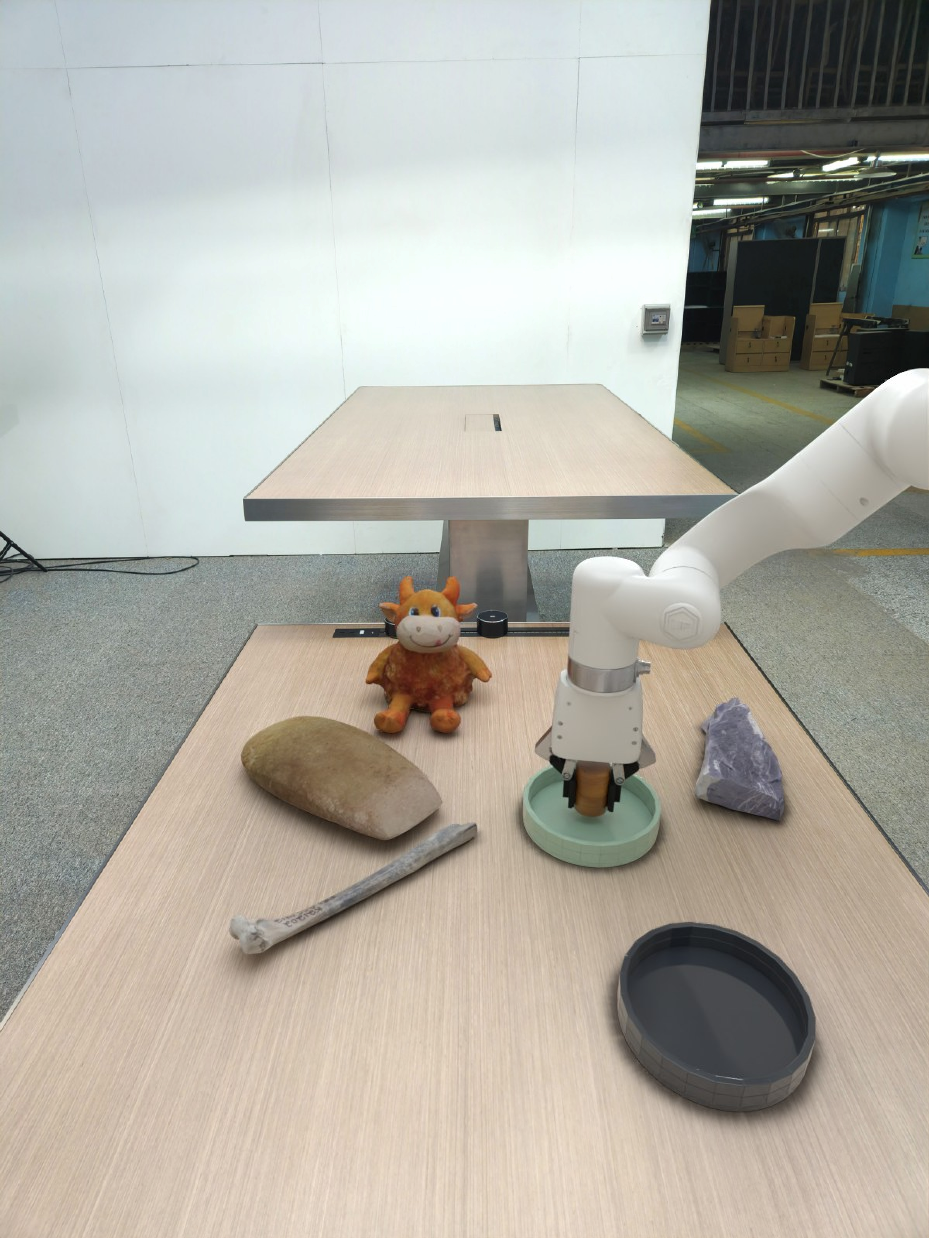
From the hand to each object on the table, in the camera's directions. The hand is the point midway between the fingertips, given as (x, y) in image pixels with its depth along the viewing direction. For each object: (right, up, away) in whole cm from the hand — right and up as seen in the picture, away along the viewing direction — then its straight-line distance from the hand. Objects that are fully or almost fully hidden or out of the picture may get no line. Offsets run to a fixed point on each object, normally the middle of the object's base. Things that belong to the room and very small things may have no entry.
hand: (590, 801), depth 90 cm
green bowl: (0, -3, +1) cm, 3 cm away
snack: (0, -1, 0) cm, 1 cm away
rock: (+20, +2, +12) cm, 24 cm away
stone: (-32, 0, +7) cm, 33 cm away
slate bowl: (+7, -14, -24) cm, 28 cm away
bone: (-26, -8, -9) cm, 28 cm away
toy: (-21, +9, +27) cm, 35 cm away
